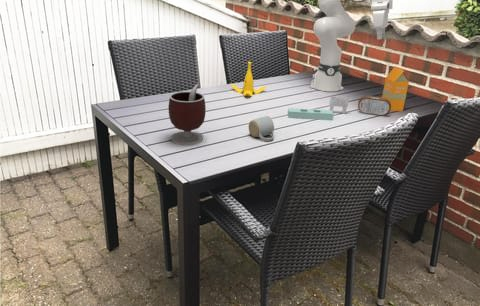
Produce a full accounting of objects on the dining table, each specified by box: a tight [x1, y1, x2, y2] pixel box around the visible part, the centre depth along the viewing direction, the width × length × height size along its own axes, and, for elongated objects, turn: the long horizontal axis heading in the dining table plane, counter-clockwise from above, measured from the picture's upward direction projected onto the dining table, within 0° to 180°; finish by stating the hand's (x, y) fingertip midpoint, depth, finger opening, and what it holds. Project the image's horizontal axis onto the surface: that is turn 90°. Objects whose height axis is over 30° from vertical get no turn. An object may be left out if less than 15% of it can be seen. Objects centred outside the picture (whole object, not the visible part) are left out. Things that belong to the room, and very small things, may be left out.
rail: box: [287, 107, 334, 121], centre depth 192 cm, size 5×20×3 cm, turn 88°
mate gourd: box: [168, 83, 207, 146], centre depth 160 cm, size 16×14×20 cm
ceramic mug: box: [248, 115, 275, 142], centre depth 167 cm, size 11×8×8 cm
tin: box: [357, 95, 391, 117], centre depth 198 cm, size 15×3×8 cm, turn 71°
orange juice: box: [381, 66, 410, 112], centre depth 206 cm, size 8×9×20 cm
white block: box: [329, 96, 349, 115], centre depth 198 cm, size 8×2×8 cm, turn 88°
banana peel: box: [230, 61, 267, 97], centre depth 220 cm, size 17×19×17 cm
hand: (380, 38), depth 185 cm, fingers open, 8 cm apart
